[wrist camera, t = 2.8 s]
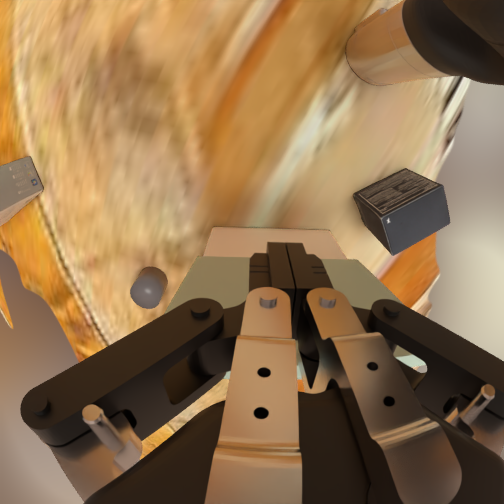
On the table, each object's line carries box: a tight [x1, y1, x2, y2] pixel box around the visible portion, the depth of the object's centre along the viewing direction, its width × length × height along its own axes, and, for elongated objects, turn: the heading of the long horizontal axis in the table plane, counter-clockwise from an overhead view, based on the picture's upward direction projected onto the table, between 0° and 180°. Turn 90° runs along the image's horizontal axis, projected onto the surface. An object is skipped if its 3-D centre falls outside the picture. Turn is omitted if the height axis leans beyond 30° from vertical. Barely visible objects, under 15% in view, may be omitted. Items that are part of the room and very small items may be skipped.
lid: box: [164, 256, 426, 379], centre depth 22 cm, size 18×18×1 cm
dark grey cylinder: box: [130, 267, 168, 309], centre depth 45 cm, size 5×5×5 cm
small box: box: [353, 168, 450, 256], centre depth 36 cm, size 11×6×10 cm, turn 119°
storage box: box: [203, 227, 347, 259], centre depth 41 cm, size 18×18×12 cm
